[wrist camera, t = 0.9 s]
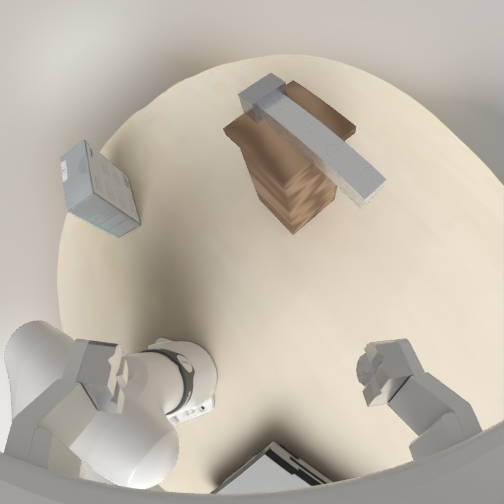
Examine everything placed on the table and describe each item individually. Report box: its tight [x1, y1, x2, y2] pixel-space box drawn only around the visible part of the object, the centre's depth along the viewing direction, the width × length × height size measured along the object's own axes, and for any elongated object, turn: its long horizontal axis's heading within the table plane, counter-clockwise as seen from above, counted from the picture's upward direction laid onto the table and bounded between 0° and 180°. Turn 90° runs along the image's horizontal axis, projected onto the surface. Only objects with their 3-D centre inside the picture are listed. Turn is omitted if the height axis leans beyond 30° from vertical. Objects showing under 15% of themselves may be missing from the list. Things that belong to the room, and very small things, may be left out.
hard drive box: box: [61, 140, 141, 238], centre depth 64 cm, size 16×8×20 cm, turn 24°
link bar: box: [238, 73, 386, 209], centre depth 38 cm, size 6×22×4 cm, turn 39°
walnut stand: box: [223, 80, 356, 235], centre depth 54 cm, size 14×13×26 cm
